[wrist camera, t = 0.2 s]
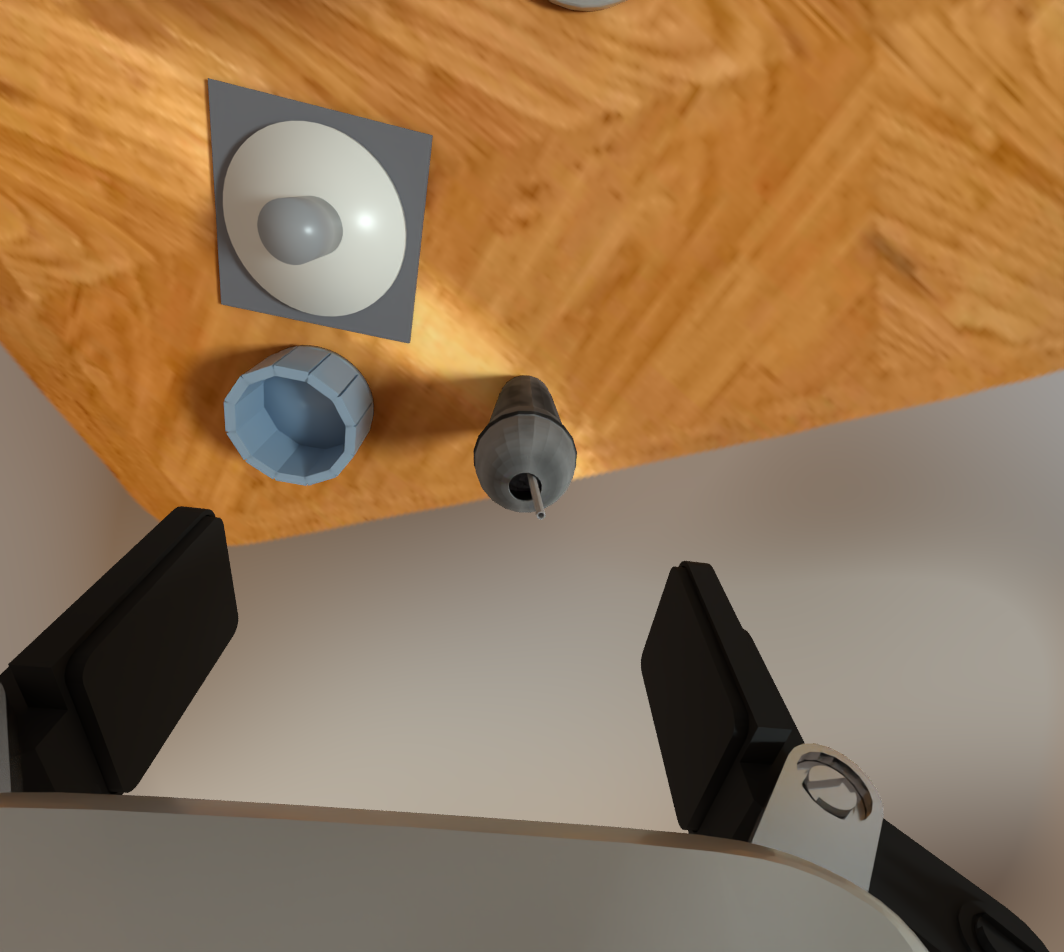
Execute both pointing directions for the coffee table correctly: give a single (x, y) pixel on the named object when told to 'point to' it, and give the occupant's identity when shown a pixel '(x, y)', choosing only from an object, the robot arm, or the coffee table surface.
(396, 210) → the lid
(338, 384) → the bowl
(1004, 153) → the coffee table surface
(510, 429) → the beverage cup
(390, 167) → the mat
